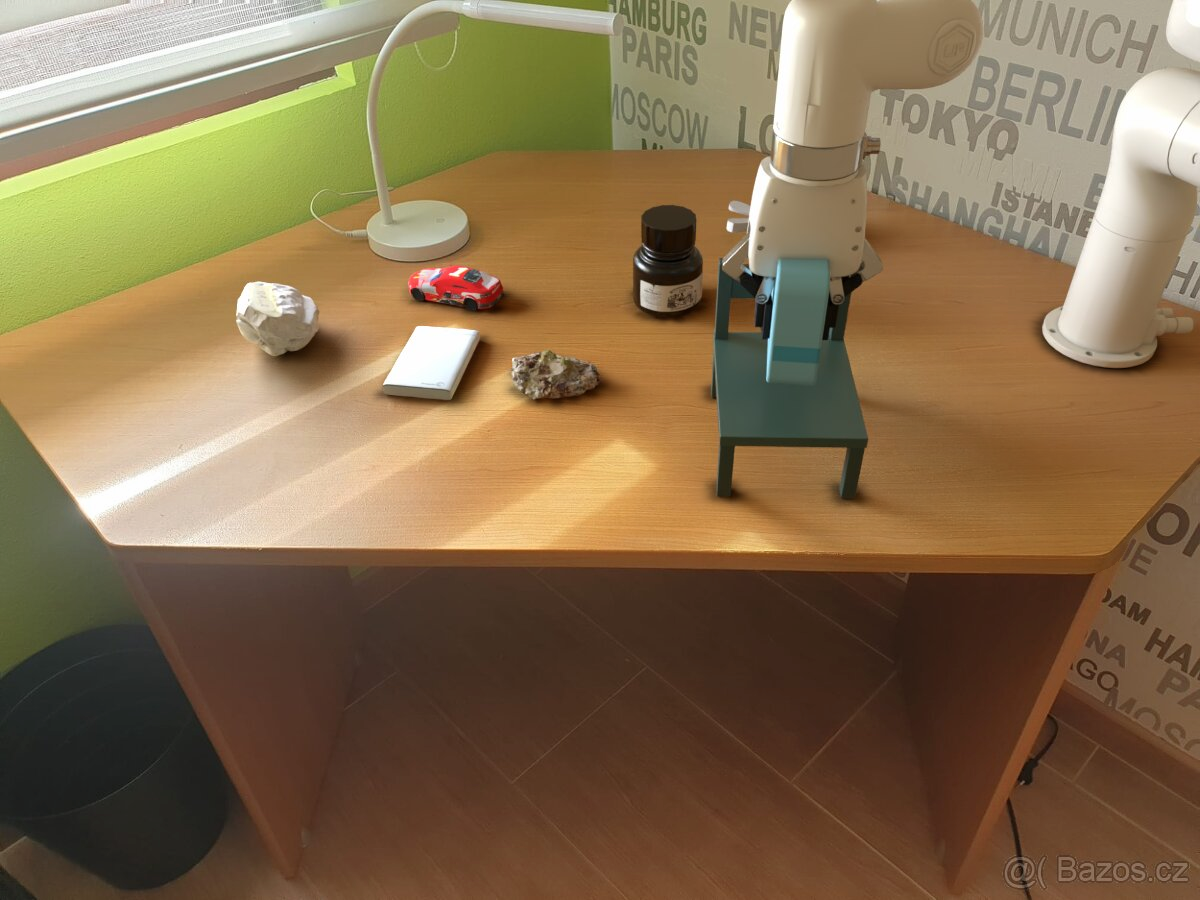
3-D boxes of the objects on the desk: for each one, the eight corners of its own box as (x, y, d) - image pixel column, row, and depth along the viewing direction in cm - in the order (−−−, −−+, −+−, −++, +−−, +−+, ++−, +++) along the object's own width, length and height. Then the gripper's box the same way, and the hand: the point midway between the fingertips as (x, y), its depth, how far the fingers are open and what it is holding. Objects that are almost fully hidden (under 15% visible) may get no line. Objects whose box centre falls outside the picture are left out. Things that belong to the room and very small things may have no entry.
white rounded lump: (297, 309, 126) (230, 346, 121) (274, 253, 121) (203, 290, 116) (346, 338, 119) (278, 378, 114) (324, 280, 113) (251, 320, 109)
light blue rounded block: (814, 393, 90) (831, 281, 82) (765, 390, 90) (777, 278, 82) (812, 323, 98) (827, 216, 91) (768, 320, 99) (779, 214, 91)
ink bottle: (642, 325, 121) (642, 240, 113) (621, 291, 127) (620, 207, 119) (714, 312, 122) (719, 227, 115) (690, 278, 129) (693, 196, 121)
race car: (402, 299, 127) (396, 272, 125) (422, 279, 131) (417, 253, 128) (490, 316, 123) (487, 289, 121) (508, 295, 127) (505, 268, 124)
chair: (832, 391, 109) (854, 257, 98) (856, 499, 96) (884, 359, 84) (710, 389, 110) (717, 257, 99) (715, 497, 96) (725, 357, 85)
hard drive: (450, 389, 109) (479, 329, 118) (381, 383, 110) (415, 324, 119) (451, 401, 110) (480, 340, 119) (384, 395, 111) (417, 335, 120)
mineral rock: (499, 385, 108) (515, 331, 112) (504, 408, 111) (519, 355, 116) (593, 396, 106) (605, 341, 111) (595, 419, 110) (606, 365, 114)
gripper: (909, 133, 83) (875, 311, 95) (713, 134, 84) (704, 310, 96) (927, 170, 77) (888, 355, 89) (716, 171, 78) (706, 353, 90)
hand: (793, 330), depth 92 cm, fingers closed on light blue rounded block, 4 cm apart
